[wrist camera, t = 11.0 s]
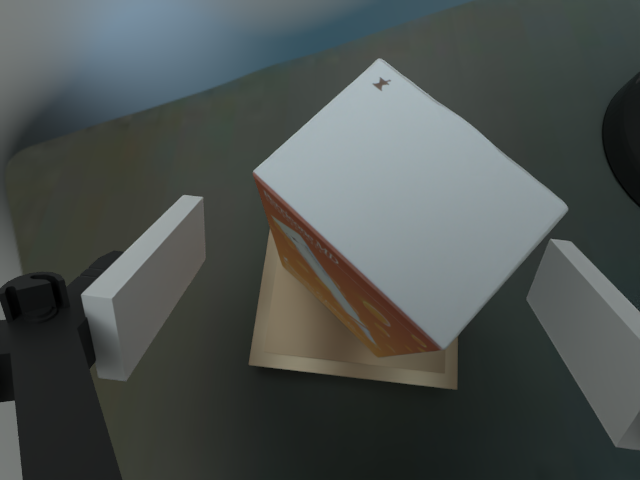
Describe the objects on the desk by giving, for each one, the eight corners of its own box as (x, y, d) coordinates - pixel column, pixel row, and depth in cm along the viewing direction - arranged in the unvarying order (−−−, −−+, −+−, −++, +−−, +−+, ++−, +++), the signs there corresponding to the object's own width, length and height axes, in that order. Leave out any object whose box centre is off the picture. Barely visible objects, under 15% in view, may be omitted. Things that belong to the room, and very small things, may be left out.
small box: (279, 266, 25) (244, 168, 13) (350, 197, 27) (380, 49, 14) (378, 362, 24) (446, 356, 11) (448, 284, 25) (578, 201, 13)
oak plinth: (442, 217, 31) (461, 194, 27) (437, 386, 28) (458, 389, 23) (282, 200, 31) (277, 174, 27) (257, 365, 28) (247, 364, 24)
